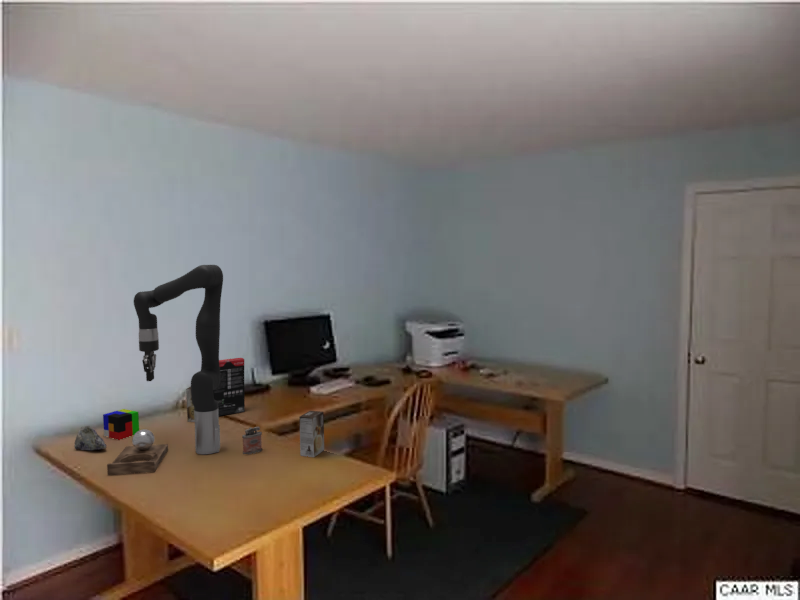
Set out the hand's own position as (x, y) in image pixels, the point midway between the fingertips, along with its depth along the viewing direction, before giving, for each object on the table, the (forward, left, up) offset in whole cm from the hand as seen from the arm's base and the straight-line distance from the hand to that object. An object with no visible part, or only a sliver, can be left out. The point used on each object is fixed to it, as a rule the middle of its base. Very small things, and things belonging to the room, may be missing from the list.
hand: (150, 380), depth 243 cm
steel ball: (0, +15, -21) cm, 25 cm away
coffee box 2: (-66, +24, -27) cm, 75 cm away
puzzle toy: (+16, -14, -27) cm, 35 cm away
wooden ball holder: (0, +22, -27) cm, 35 cm away
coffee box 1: (-14, -31, -27) cm, 44 cm away
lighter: (-42, +19, -27) cm, 54 cm away
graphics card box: (-26, -40, -27) cm, 55 cm away
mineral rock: (+23, +4, -27) cm, 36 cm away
